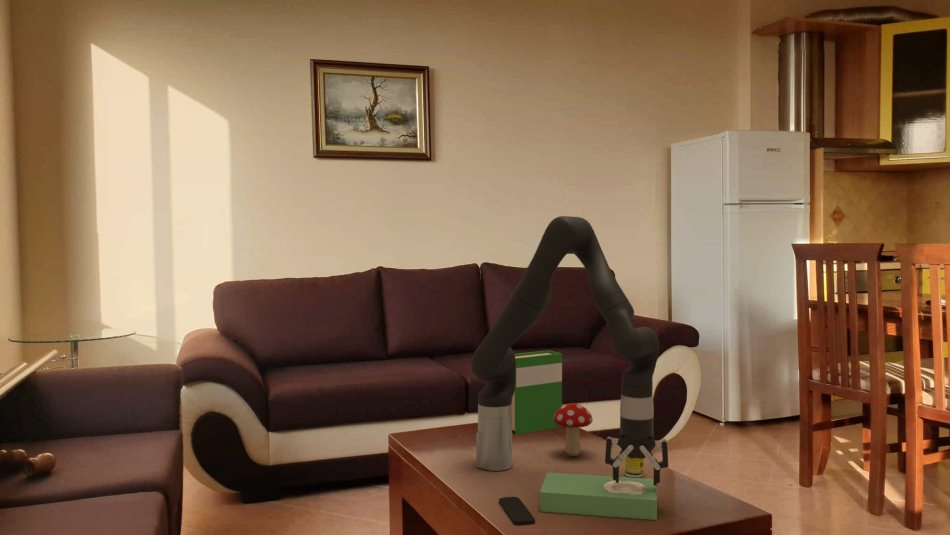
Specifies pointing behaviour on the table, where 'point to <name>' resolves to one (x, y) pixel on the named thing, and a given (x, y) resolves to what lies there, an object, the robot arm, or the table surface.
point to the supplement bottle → (633, 467)
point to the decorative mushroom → (572, 425)
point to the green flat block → (598, 496)
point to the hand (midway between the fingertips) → (636, 483)
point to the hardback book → (536, 391)
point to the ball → (626, 489)
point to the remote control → (516, 511)
